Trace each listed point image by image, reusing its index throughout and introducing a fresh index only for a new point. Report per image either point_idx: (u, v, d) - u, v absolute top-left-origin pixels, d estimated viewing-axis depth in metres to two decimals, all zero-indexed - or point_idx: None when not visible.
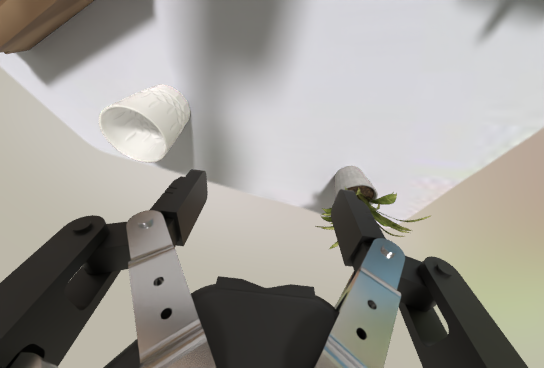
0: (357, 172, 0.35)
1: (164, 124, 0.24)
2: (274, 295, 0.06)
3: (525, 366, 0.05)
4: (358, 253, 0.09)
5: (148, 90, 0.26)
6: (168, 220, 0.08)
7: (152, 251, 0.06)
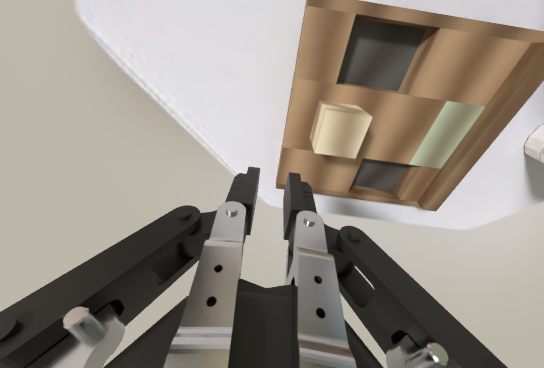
0: None
1: None
2: (274, 296, 0.06)
3: (424, 290, 0.07)
4: (291, 226, 0.10)
5: None
6: None
7: (226, 238, 0.07)
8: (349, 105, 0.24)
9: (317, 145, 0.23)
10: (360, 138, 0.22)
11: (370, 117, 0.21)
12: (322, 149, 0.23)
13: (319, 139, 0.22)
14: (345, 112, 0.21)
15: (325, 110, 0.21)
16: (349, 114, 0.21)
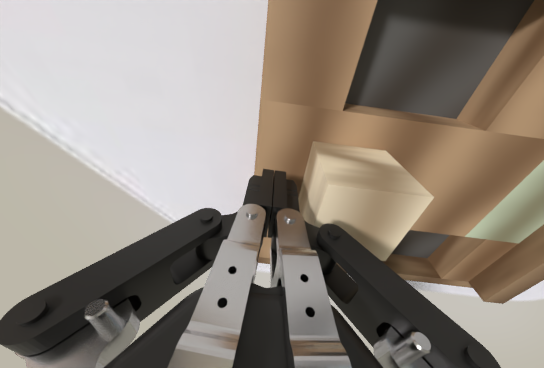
0: None
1: None
2: (275, 296, 0.06)
3: (402, 280, 0.07)
4: (273, 223, 0.10)
5: None
6: None
7: (243, 240, 0.07)
8: (371, 152, 0.13)
9: None
10: (400, 232, 0.10)
11: (428, 197, 0.09)
12: None
13: None
14: (371, 186, 0.09)
15: (325, 181, 0.09)
16: (381, 192, 0.09)
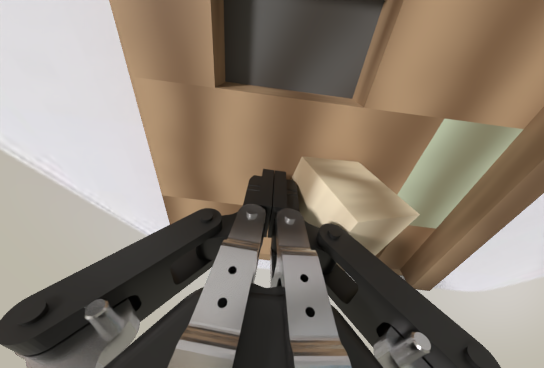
0: None
1: None
2: (274, 296, 0.06)
3: (402, 280, 0.07)
4: (273, 223, 0.10)
5: None
6: None
7: (243, 240, 0.07)
8: (352, 166, 0.13)
9: None
10: (386, 242, 0.12)
11: (416, 215, 0.10)
12: None
13: None
14: (383, 213, 0.09)
15: (349, 215, 0.09)
16: (391, 219, 0.09)
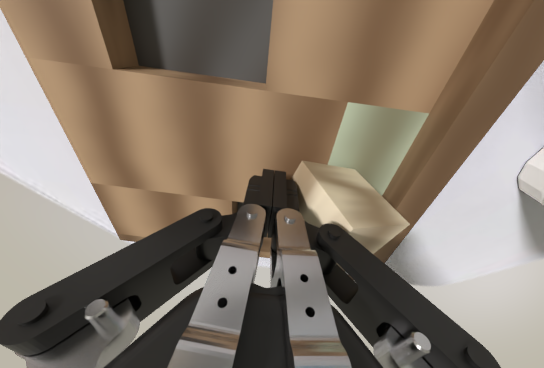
0: None
1: None
2: (274, 296, 0.06)
3: (403, 280, 0.07)
4: (273, 223, 0.10)
5: None
6: None
7: (243, 240, 0.07)
8: (348, 173, 0.13)
9: None
10: (376, 249, 0.12)
11: (406, 224, 0.11)
12: None
13: None
14: (376, 221, 0.10)
15: (345, 222, 0.09)
16: (384, 227, 0.10)
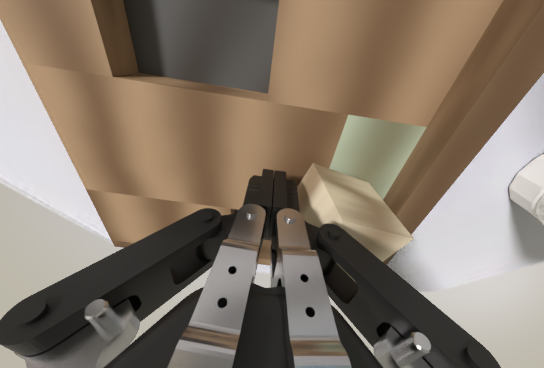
0: None
1: None
2: (274, 296, 0.06)
3: (403, 280, 0.07)
4: (273, 223, 0.10)
5: None
6: None
7: (243, 240, 0.07)
8: (360, 183, 0.14)
9: None
10: None
11: (409, 238, 0.11)
12: None
13: None
14: (372, 224, 0.10)
15: (337, 215, 0.10)
16: (380, 231, 0.10)
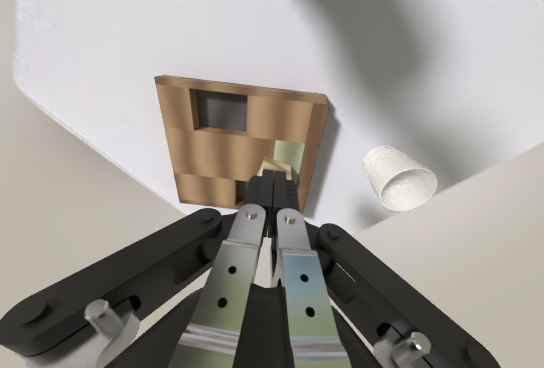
0: None
1: (417, 164, 0.28)
2: (274, 296, 0.06)
3: (402, 279, 0.07)
4: (273, 223, 0.10)
5: (373, 161, 0.33)
6: None
7: (243, 240, 0.07)
8: (284, 164, 0.35)
9: None
10: None
11: None
12: None
13: None
14: None
15: (262, 168, 0.31)
16: None
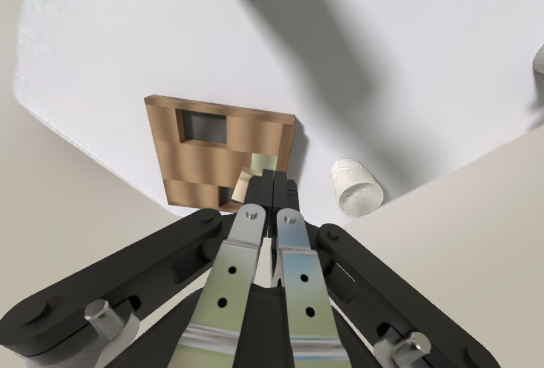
0: None
1: (367, 178, 0.34)
2: (274, 295, 0.06)
3: (403, 280, 0.07)
4: (273, 223, 0.10)
5: (336, 173, 0.39)
6: None
7: (243, 240, 0.07)
8: (260, 174, 0.40)
9: (233, 195, 0.38)
10: None
11: None
12: (236, 197, 0.38)
13: (234, 192, 0.37)
14: None
15: (239, 178, 0.36)
16: None
